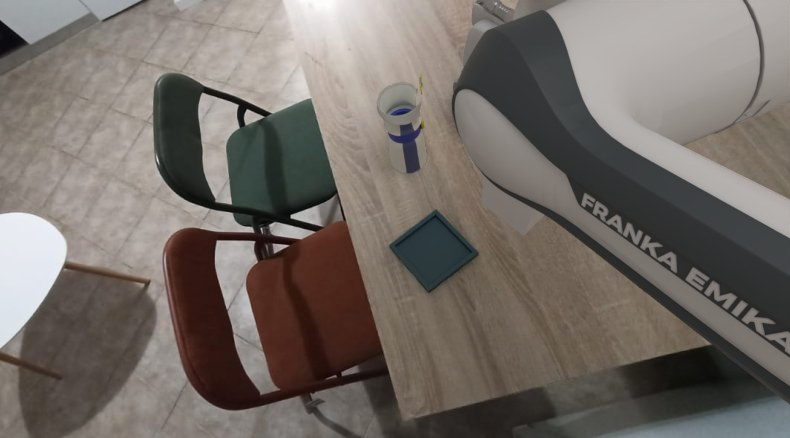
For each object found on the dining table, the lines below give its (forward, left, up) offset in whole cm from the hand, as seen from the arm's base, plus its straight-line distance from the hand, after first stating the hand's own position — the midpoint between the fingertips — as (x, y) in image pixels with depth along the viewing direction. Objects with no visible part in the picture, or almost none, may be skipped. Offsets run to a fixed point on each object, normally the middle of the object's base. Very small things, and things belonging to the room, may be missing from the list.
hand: (538, 143), depth 47 cm
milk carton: (0, 0, -15) cm, 15 cm away
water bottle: (+28, -1, -38) cm, 47 cm away
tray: (+9, +9, -38) cm, 40 cm away
